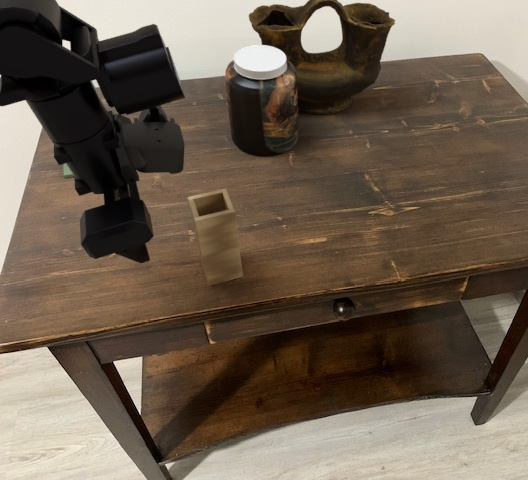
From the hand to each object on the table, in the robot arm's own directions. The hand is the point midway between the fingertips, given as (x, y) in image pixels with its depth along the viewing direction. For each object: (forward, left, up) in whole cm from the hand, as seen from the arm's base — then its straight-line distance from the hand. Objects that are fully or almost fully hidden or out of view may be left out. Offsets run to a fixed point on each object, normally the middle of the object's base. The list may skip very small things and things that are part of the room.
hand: (141, 232), depth 62 cm
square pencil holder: (+8, +2, -12) cm, 15 cm away
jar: (+21, +30, -12) cm, 39 cm away
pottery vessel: (+34, +37, -12) cm, 52 cm away
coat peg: (-10, +30, -12) cm, 34 cm away
